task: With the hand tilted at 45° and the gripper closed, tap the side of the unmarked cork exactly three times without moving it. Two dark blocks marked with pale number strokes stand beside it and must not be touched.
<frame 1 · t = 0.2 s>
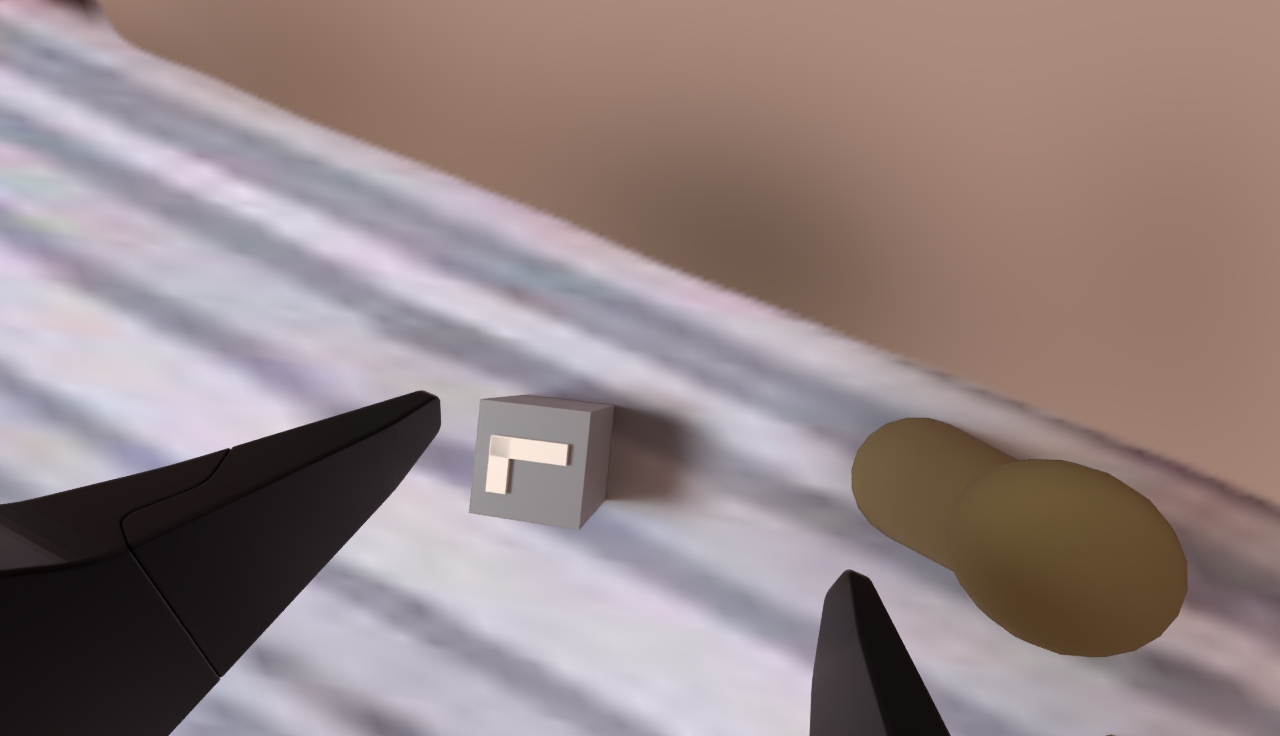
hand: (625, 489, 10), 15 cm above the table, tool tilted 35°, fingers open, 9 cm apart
cork: (916, 480, 23), on the table
slate marked block: (564, 446, 26), on the table
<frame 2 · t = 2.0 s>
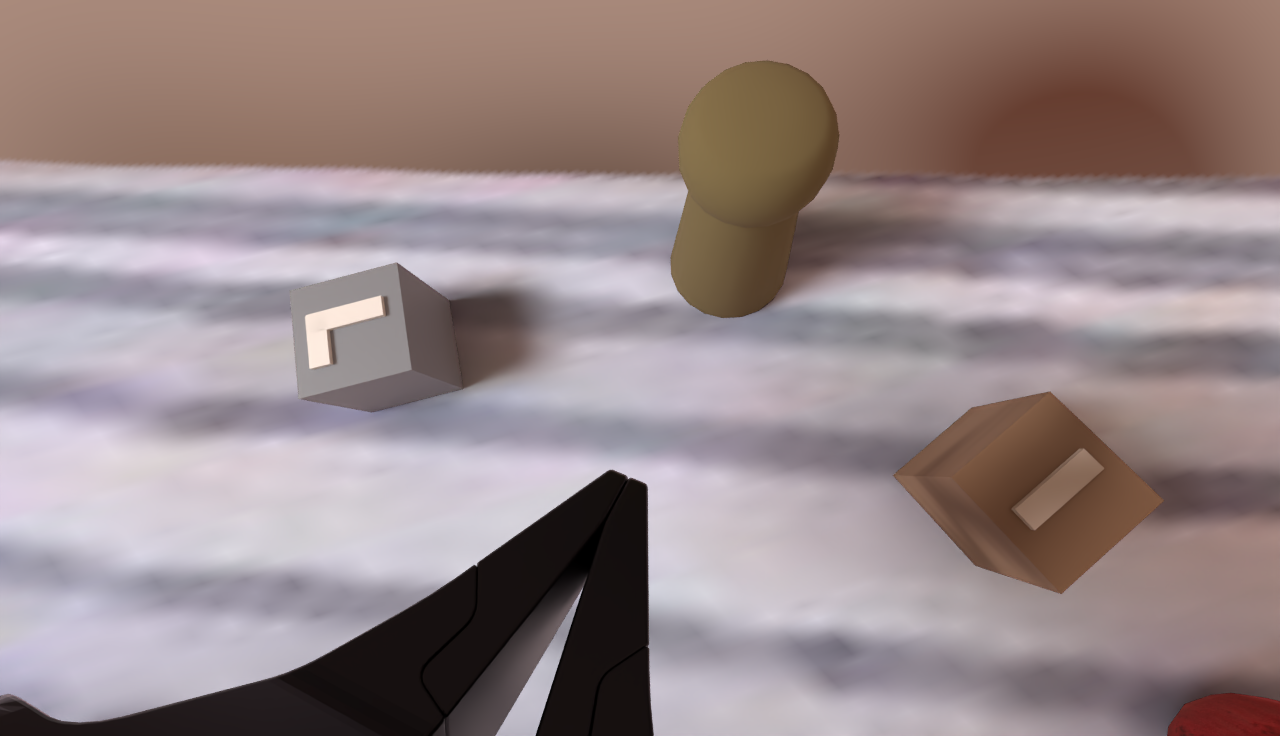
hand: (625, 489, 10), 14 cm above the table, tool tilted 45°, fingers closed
cork: (727, 264, 25), on the table
walnut marked block: (972, 484, 22), on the table
slate marked block: (411, 355, 26), on the table
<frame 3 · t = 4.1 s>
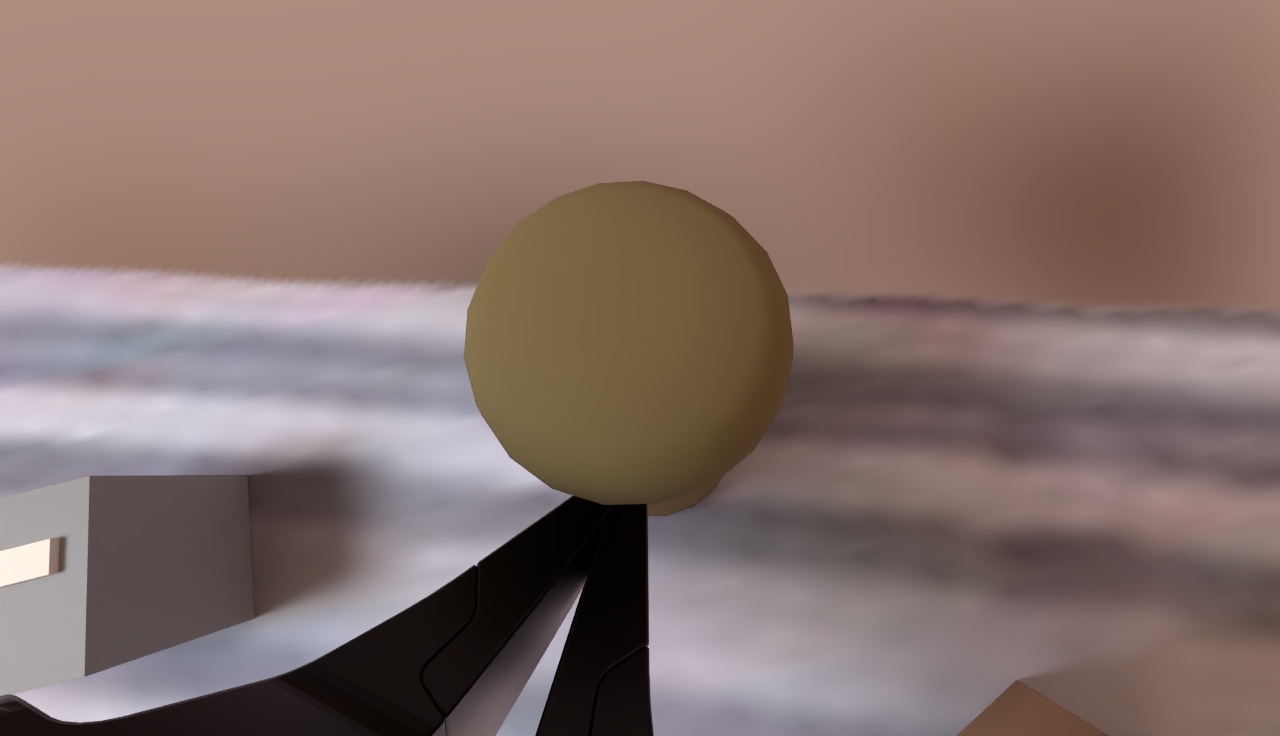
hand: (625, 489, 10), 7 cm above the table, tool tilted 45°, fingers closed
cork: (649, 427, 17), on the table, touching gripper
slate marked block: (187, 560, 17), on the table
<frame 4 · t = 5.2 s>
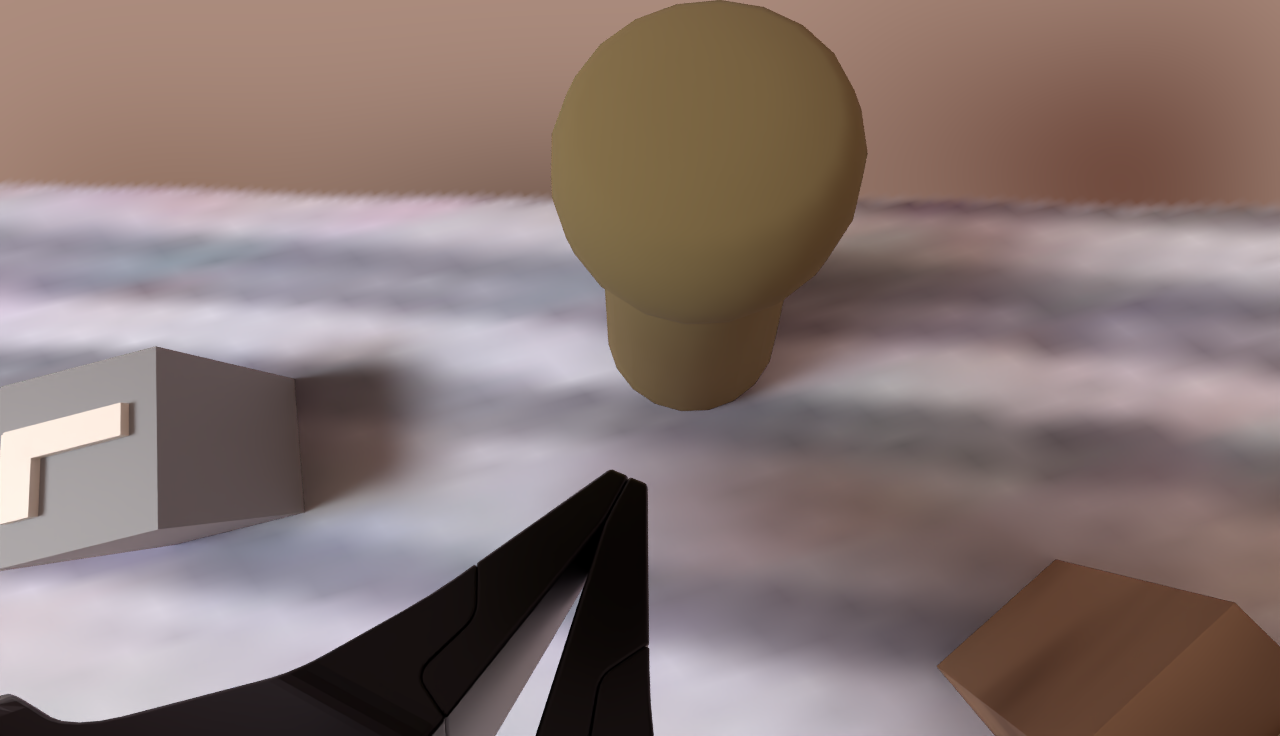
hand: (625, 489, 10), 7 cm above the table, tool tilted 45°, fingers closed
cork: (690, 329, 18), on the table
walnut marked block: (1060, 684, 14), on the table
slate marked block: (236, 459, 18), on the table
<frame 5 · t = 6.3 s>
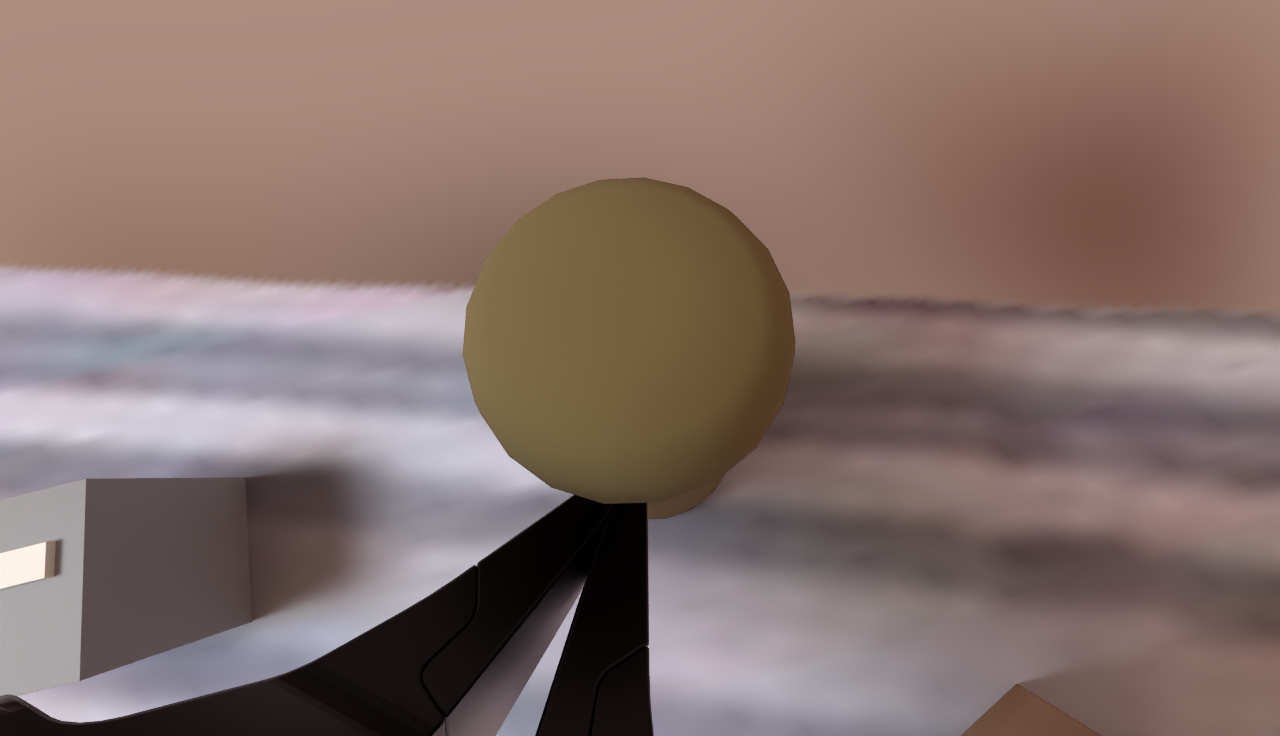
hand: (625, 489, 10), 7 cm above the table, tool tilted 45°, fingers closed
cork: (648, 430, 17), on the table, touching gripper
slate marked block: (184, 563, 17), on the table
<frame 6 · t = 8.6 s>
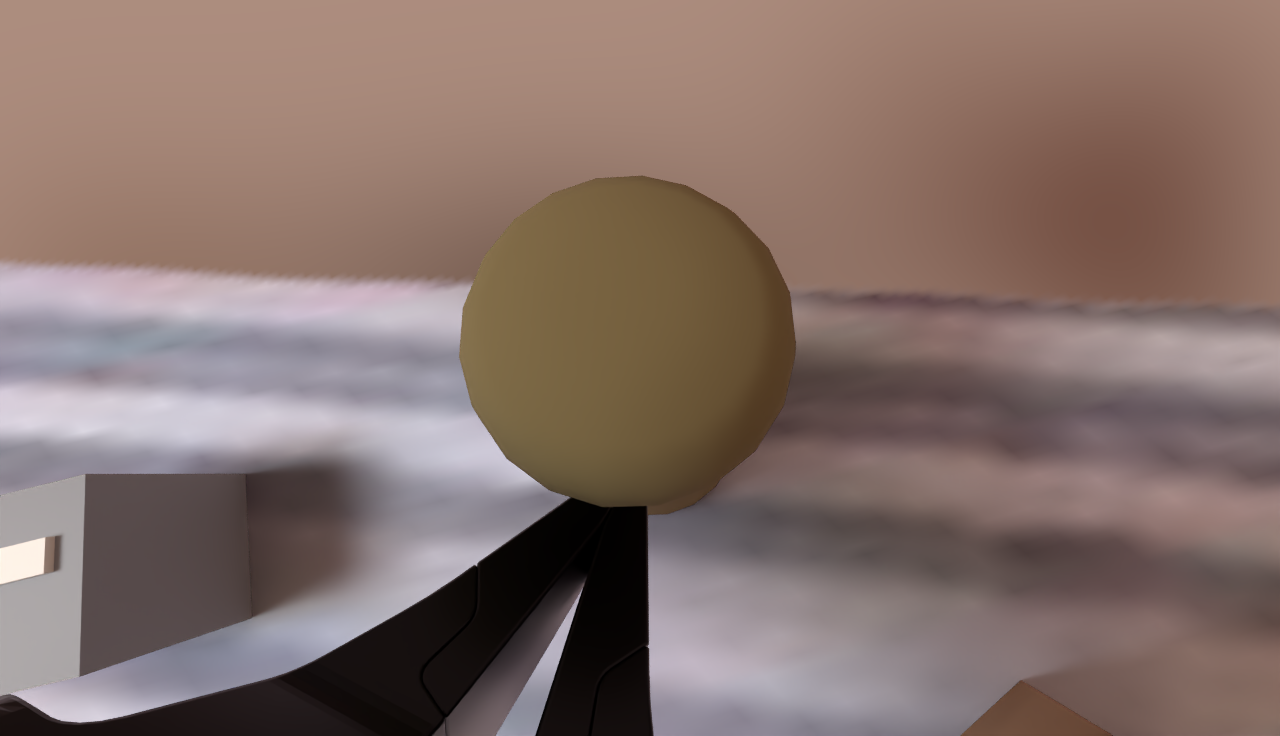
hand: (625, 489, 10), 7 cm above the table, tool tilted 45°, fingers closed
cork: (650, 425, 17), on the table, touching gripper
slate marked block: (184, 559, 17), on the table
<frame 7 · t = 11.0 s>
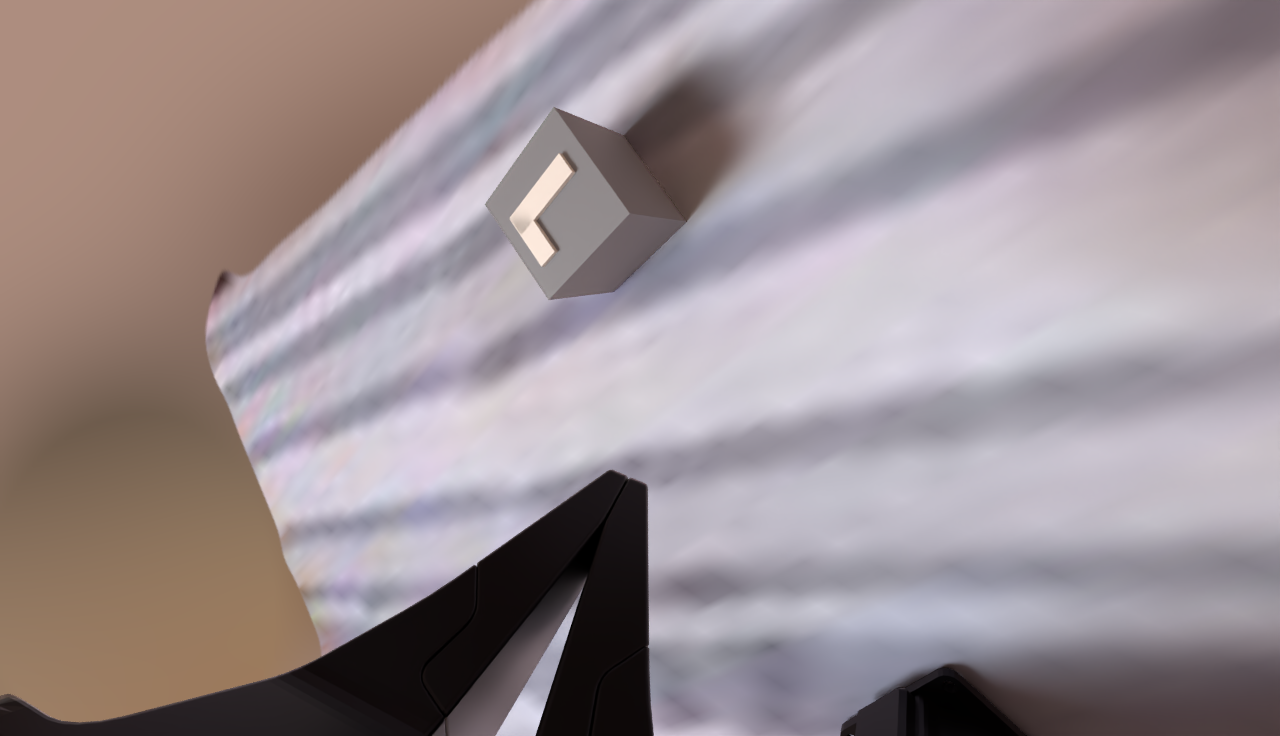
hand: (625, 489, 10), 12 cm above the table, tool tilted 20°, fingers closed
slate marked block: (619, 217, 23), on the table
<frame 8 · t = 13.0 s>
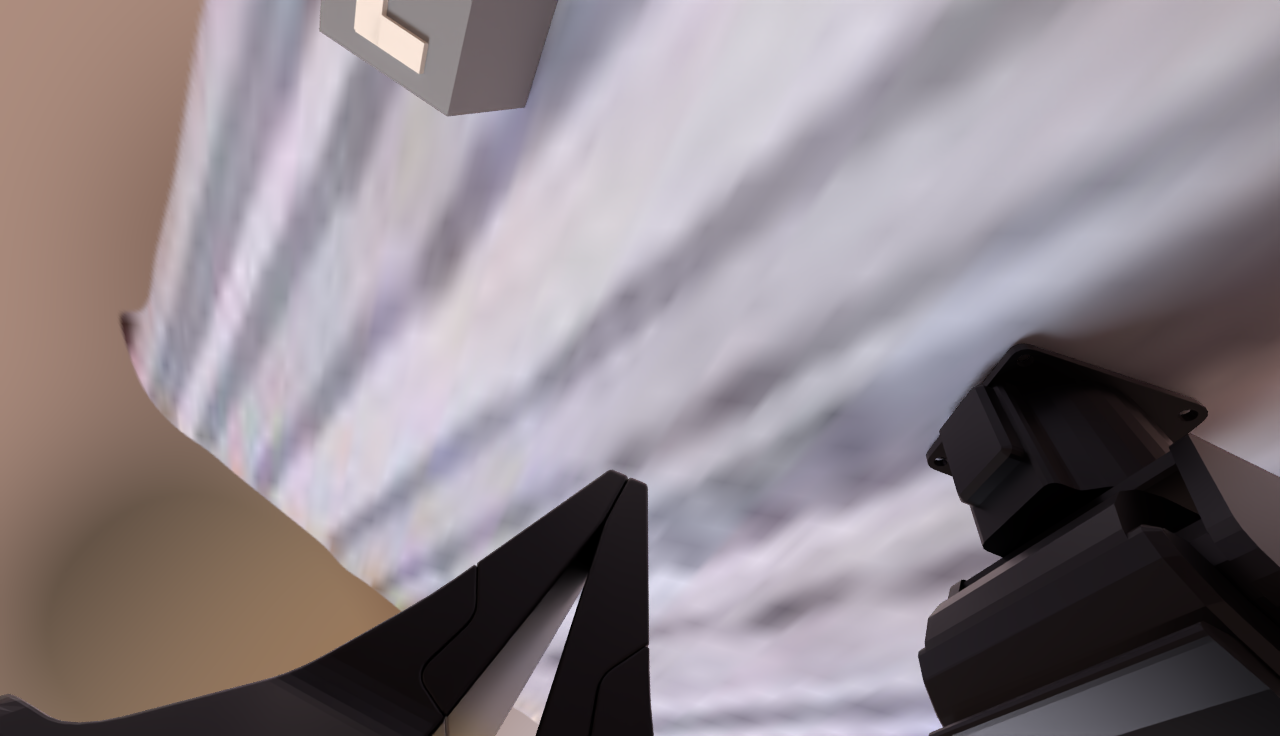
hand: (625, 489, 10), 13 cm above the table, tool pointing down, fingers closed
slate marked block: (491, 5, 18), on the table
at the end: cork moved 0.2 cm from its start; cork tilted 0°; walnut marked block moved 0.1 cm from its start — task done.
